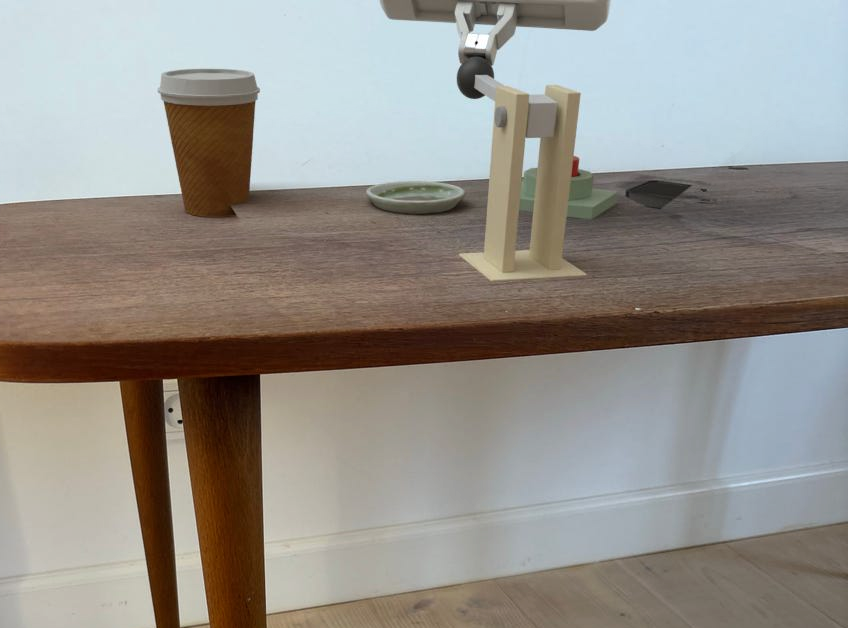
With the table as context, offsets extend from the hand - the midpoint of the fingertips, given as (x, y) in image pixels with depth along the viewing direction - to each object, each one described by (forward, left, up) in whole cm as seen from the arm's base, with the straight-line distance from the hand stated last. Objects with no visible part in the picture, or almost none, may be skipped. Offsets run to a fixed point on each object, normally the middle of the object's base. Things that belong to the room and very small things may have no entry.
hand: (475, 59), depth 90 cm
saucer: (+7, -4, -14) cm, 17 cm away
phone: (-17, -23, -14) cm, 32 cm away
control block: (-5, -11, -14) cm, 19 cm away
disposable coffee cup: (+25, +4, -14) cm, 29 cm away
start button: (-5, -11, -11) cm, 16 cm away
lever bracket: (-10, +11, -14) cm, 21 cm away
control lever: (-5, +6, -3) cm, 8 cm away
